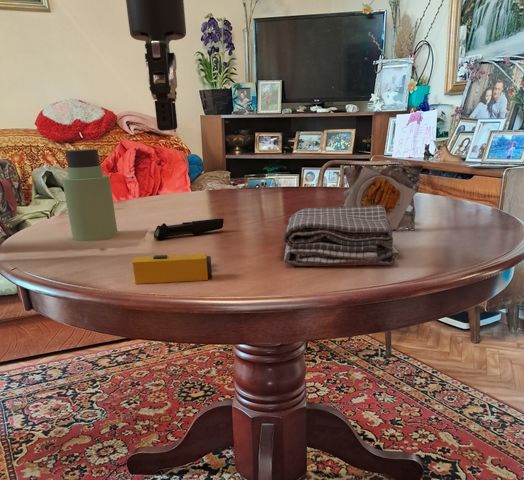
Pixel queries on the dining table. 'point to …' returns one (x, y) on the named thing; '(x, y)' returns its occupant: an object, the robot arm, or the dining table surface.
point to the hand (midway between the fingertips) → (168, 130)
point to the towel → (339, 237)
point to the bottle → (88, 197)
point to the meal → (385, 190)
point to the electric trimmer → (188, 228)
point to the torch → (172, 268)
